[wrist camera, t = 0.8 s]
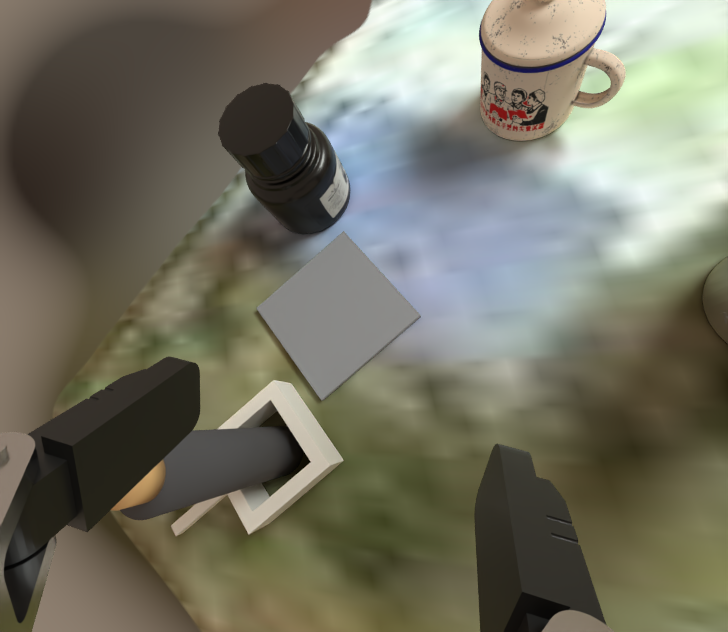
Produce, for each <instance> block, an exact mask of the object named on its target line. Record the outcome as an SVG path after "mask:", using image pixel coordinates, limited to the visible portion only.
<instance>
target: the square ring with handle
mask: <svg viewBox="0 0 728 632" xmlns="http://www.w3.org/2000/svg"><path fill="white" fill-rule="evenodd" d="M276 411H278V412H279V413H280V415H281V417H282V418H283V420H284V421H285V423H286V424H287V426H288V427H289V429H290V431H291V432H292V434H293V435H294V437H295V438H296V440H297V441H298V443H299V444H300V446H301V448H302V449H303V451H304V452H305V454H306V455H307V457H308V458H309V460H310V461H311V462H310V463H309V464H308V465H307V466H306V467H305V468H303V469H302V470H301V471H300V472H299V473H298V474H296V475H295V476H294V477H293V478H292V479H290V480H289V481H288V482H287V483H286V484H285V485H283V486H282V487H281V488H280V489H279V490H278V491H276V492H275V493H274V494H273V495H272V496H271V497H269V495H268V493H267V491H266V490H265V488H264V486H263V485H262V483H259V484H256V485H253V486H250V487H247V488H244V489H241V490H237V491H234V492H231V493H228V494H225V495H222V496H219V497H215V498H212V499H209V500H206V501H203V502H200V503H197V504H195V505H194V506H193V507H192V508H191V509H190V510H188V511H187V512H186V513H185V514H184V515H183V516H181V517H180V518H179V519H178V520H177V521H176V522H174V523H173V524H172V525H171V527H172V529H173V531H174V533H175V536H177V535H180V534H182V533H183V532H185V531H186V530H187V529H188V528H189V527H190V526H192V525H193V524H194V523H195V522H196V521H197V520H199V519H200V518H201V517H202V516H203V515H204V514H206V513H207V512H208V511H209V510H210V509H211V508H213V507H214V506H215V505H216V504H217V503H218V502H220V501H221V500H222V499H223V498H224V497H225V496H227V495H228V497H229V499H230V500H231V502H232V504H233V506H234V508H235V510H236V512H237V513H238V515H239V517H240V519H241V521H242V523H243V525H244V526H245V528H246V530H247V532H248V534H251V533H253V532H255V531H256V530H258V529H260V528H262V527H264V526H266V525H268V524H270V523H271V522H272V521H273V520H274V519H276V518H277V517H278V516H279V515H280V514H282V513H283V512H284V511H285V510H286V509H287V508H289V507H290V506H291V505H292V504H293V503H295V502H296V501H297V500H298V499H299V498H300V497H302V496H303V495H304V494H305V493H306V492H308V491H309V490H310V489H311V488H312V487H313V486H315V485H316V484H317V483H318V482H319V481H320V480H322V479H323V478H324V477H325V476H326V475H328V474H329V473H330V472H331V471H332V470H333V469H335V468H336V467H337V466H338V465H339V464H341V463H342V462H343V461H344V460H343V458H342V457H341V455H340V454H339V452H338V451H337V450H336V448H335V447H334V445H333V444H332V442H331V441H330V439H329V438H328V436H327V435H326V433H325V432H324V431H323V429H322V428H321V426H320V425H319V423H318V422H317V420H316V419H315V417H314V416H313V414H312V413H311V412H310V410H309V409H308V407H307V406H306V404H305V403H304V401H303V400H302V398H301V397H300V395H299V394H298V393H297V391H296V390H295V388H294V387H293V385H292V384H291V383H287V382H281V381H276V380H273V381H272V382H271V383H270V384H269V385H267V386H266V387H265V388H264V389H263V390H262V391H261V392H259V393H258V394H257V395H256V396H255V397H254V398H253V399H251V400H250V401H249V402H248V403H247V404H246V405H244V406H243V407H242V408H241V409H240V410H239V411H238V412H236V413H235V414H234V415H233V416H232V417H231V418H229V419H228V420H227V421H226V422H225V423H224V424H223V425H221V426H220V427H219V428H218V429H234V428H253V427H259V426H260V425H261V424H263V423H264V422H265V421H266V420H267V419H268V418H269V417H271V416H272V415H273V414H274V413H275V412H276Z"/></svg>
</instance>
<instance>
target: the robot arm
mask: <svg viewBox="0 0 728 632" xmlns="http://www.w3.org/2000/svg"><path fill="white" fill-rule="evenodd" d="M702 299H703V305H704V311H705V313H706V316H707V318H708V321H709V323H710V324H711V326H712V327H713V328H714V330H715V331H716V333H717V334H718V335H719V336H720V337H721V338H722V339H723V340H724V341H725V342H726V343H728V257H726V258H725V259H724V260H722V261H721V262H720V263H719V264H718V265H716V266H715V268H714V269H713V270H712V271H711V273H710V274H709V275H708V278H707V280H706V282H705V285H704V289H703V298H702ZM199 415H200V371H199V367H198V365H197V364H196V363H193V362H189V361H185V360H181V359H178V358H174V357H166V358H164V359H162V360H161V361H159V362H158V363H156V364H154V365H153V366H151V367H150V368H148V369H144V370H141V371H138V372H135V373H132V374H129V375H126V376H123V377H122V378H120V379H118V380H117V381H115V382H113V383H112V384H110V385H108V386H107V387H105V390H100V391H98V392H97V393H95V394H93V395H92V396H90V399H85V400H83V401H82V402H80V403H79V404H77V405H75V406H74V407H72V408H70V409H69V410H67V411H65V412H64V413H62V414H60V415H59V416H57V417H55V418H54V419H52V420H51V421H49V422H47V423H46V424H44V425H42V426H41V427H39V428H37V429H36V430H34V431H32V432H31V433H29V434H23V433H18V432H6V433H0V632H32V628H33V625H34V621H35V617H36V614H37V611H38V607H39V604H40V600H41V597H42V593H43V589H44V586H45V582H46V579H47V576H48V572H49V569H50V565H51V562H52V558H53V555H54V551H55V547H56V534H57V533H58V532H59V531H60V530H61V529H62V528H64V527H65V526H66V525H68V526H71V527H74V528H77V529H80V530H82V531H85V532H88V531H89V530H90V529H91V528H92V527H93V526H94V525H95V524H97V523H98V521H100V520H101V519H102V518H103V517H104V516H105V515H106V514H107V513H108V512H109V511H110V510H111V509H112V508H113V507H114V506H115V505H116V504H117V503H118V502H119V501H120V500H121V499H122V498H123V497H124V496H125V495H126V494H128V493H129V492H130V491H131V490H132V489H133V488H134V487H135V486H136V485H137V484H138V483H139V482H140V481H141V480H142V479H143V478H144V477H145V476H146V475H147V474H148V473H149V472H150V471H151V470H152V469H153V468H154V467H155V466H156V465H157V464H159V463H160V462H161V461H162V460H163V459H164V458H165V457H166V456H167V455H168V454H169V453H170V452H171V451H172V450H173V449H174V448H175V447H176V446H177V445H178V444H179V443H180V442H181V441H182V440H183V439H184V438H185V437H186V436H187V435H188V434H189V433H190V432H191V431H192V430H193V429H194V427H195V425H196V423H197V421H198V418H199ZM475 535H476V555H477V574H478V594H479V613H480V632H614V631H613V630H612V629H610V628H609V627H608V626H607V625H606V622H605V620H604V617H603V614H602V611H601V608H600V605H599V602H598V599H597V596H596V593H595V590H594V587H593V584H592V581H591V578H590V575H589V572H588V569H587V566H586V563H585V559H584V556H583V553H582V550H581V547H580V545H578V538H577V535H576V532H575V529H574V527H573V526H572V520H571V517H570V514H569V511H568V508H567V505H566V502H565V500H564V499H563V498H562V496H561V495H560V494H559V492H558V491H557V490H556V488H555V487H554V486H553V484H552V483H551V482H550V481H549V480H546V479H542V478H538V477H536V474H535V470H534V466H533V462H532V458H531V455H530V453H529V452H526V451H522V450H519V449H515V448H511V447H507V446H504V445H500V444H496V445H495V446H494V448H493V450H492V453H491V455H490V458H489V461H488V464H487V467H486V470H485V473H484V476H483V478H482V481H481V484H480V487H479V490H478V494H477V498H476V504H475Z"/></svg>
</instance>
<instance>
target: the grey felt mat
mask: <svg viewBox="0 0 728 632" xmlns="http://www.w3.org/2000/svg"><path fill="white" fill-rule="evenodd" d="M257 310H258V311H259V313H260V314H261V316H262V317H263V318H264V320H265V321H266V323H267V324H268V325H269V327H270V328H271V330H272V331H273V333H274V334H275V335H276V337H277V338H278V340H279V341H280V342H281V344H282V345H283V347H284V348H285V350H286V351H287V352H288V354H289V355H290V357H291V358H292V359H293V361H294V362H295V364H296V365H297V367H298V368H299V369H300V371H301V372H302V374H303V375H304V376H305V378H306V379H307V381H308V382H309V384H310V385H311V386H312V388H313V389H314V391H315V392H316V393H317V395H318V396H319V398H320V399H321V400H324V399H326V398H327V397H328V396H329V395H330V394H331V393H333V392H334V391H335V390H336V389H337V388H338V387H340V386H341V385H342V384H343V383H344V382H345V381H347V380H348V379H349V378H350V377H351V376H352V375H354V374H355V373H356V372H357V371H358V370H359V369H361V368H362V367H363V366H364V365H365V364H366V363H368V362H369V361H370V360H371V359H372V358H373V357H375V356H376V355H377V354H378V353H379V352H380V351H382V350H383V349H384V348H385V347H386V346H387V345H389V344H390V343H391V342H392V341H393V340H394V339H396V338H397V337H398V336H399V335H400V334H401V333H403V332H404V331H405V330H406V329H407V328H408V327H409V326H411V325H412V324H413V323H414V322H415V321H416V320H418V319H419V318H420V317H421V316H420V314H419V313H418V312H417V311H416V310H415V309H414V308H413V307H412V306H411V304H410V303H409V302H408V301H407V300H406V299H405V298H404V297H403V296H402V295H401V294H400V292H399V291H398V290H397V289H396V288H395V287H394V286H393V285H392V284H391V283H390V281H389V280H388V279H387V278H386V277H385V276H384V275H383V274H382V273H381V272H380V271H379V269H378V268H377V267H376V266H375V265H374V264H373V263H372V262H371V261H370V260H369V258H368V257H367V256H366V255H365V254H364V253H363V252H362V251H361V250H360V249H359V248H358V246H357V245H356V244H355V243H354V242H353V241H352V240H351V239H350V238H349V237H348V235H347V234H346V233H345V232H344V231H343V232H342V233H341V234H340V235H339V236H338V237H337V238H335V239H334V240H333V241H332V242H331V243H330V244H329V245H328V246H326V247H325V248H324V249H323V250H322V251H321V252H320V253H318V254H317V255H316V256H315V257H314V258H313V259H312V260H310V261H309V262H308V263H307V264H306V265H305V266H304V267H303V268H301V269H300V270H299V271H298V272H297V273H296V274H295V275H293V276H292V277H291V278H290V279H289V280H288V281H287V282H285V283H284V284H283V285H282V286H281V287H280V288H279V289H278V290H276V291H275V292H274V293H273V294H272V295H271V296H270V297H268V298H267V299H266V300H265V301H264V302H263V303H262V304H261V305H259V306H258V307H257Z"/></svg>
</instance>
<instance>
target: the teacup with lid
mask: <svg viewBox="0 0 728 632" xmlns="http://www.w3.org/2000/svg"><path fill="white" fill-rule="evenodd" d="M605 20H606V4H605V0H492V2H491V3H490V5H489V6H488V8H487V10H486V12H485V14H484V16H483V19H482V21H481V25H480V30H479V40H480V45H481V47H482V61H481V97H480V112H481V116H482V119H483V121H484V123H485V125H486V126H487V127H488V128H489V129H490V130H491V131H492V132H493V133H494V134H496V135H498V136H500V137H502V138H505V139H509V140H515V141H526V140H533V139H537V138H540V137H543V136H545V135H548V134H549V133H551V132H553V131H555V130H556V129H557V128H559V127H560V126H561V125H562V124H563V123H564V122H565V121H566V120H567V118H568V117H569V115H570V114H571V112H572V110H573V107H574V106H577V107H582V108H595V107H599V106H601V105H603V104H605V103H607V102H608V101H610V100H611V99H612V98H613V97H614V96H615V95H616V94H617V92H618V91H619V90H620V88H621V86H622V85H623V82H624V80H625V73H626V72H625V67H624V65H623V63H622V62H621V60H620V59H619V58H618V57H616V56H615V55H613V54H611V53H609V52H606V51H603V50H599V49H595V48H593V47H594V44H595V42H596V41H597V39H598V38H599V36H600V34H601V32H602V30H603V27H604V25H605ZM587 65H589V66H592V67H596V68H598V69H601V70H602V71H604V72H605V73H606V74H607V75H608V76H609V78H610V80H611V86H610V88H609V89H607V90H606V91H604V92H601V93H597V94H591V93H585V92H581V91H579V89H580V86H581V83H582V80H583V77H584V74H585V71H586V68H587Z"/></svg>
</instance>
